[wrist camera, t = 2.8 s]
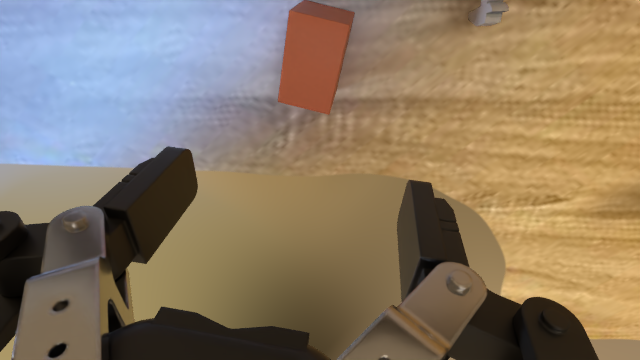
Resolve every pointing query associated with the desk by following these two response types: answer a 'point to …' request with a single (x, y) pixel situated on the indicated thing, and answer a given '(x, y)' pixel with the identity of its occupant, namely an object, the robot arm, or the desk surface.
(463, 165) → the desk surface
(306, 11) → the block
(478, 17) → the caliper
